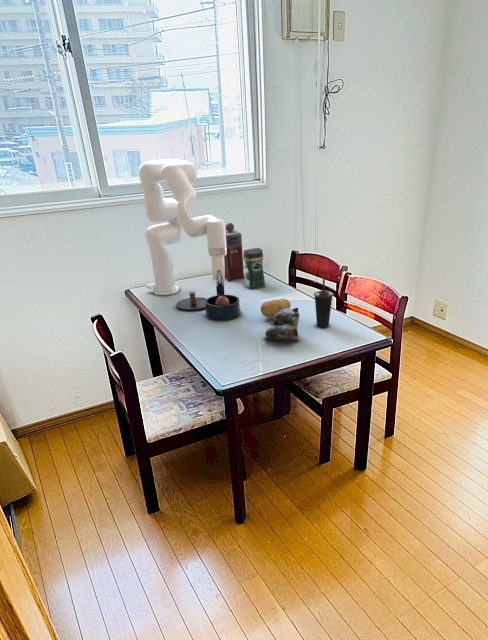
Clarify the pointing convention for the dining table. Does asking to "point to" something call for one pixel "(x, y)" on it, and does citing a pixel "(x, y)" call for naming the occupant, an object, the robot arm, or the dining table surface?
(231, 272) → the vintage gas pump model
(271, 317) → the potato
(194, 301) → the pan lid
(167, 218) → the robot arm
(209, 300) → the pan
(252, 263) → the coffee jar
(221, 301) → the mushroom
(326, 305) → the drinking cup
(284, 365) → the dining table surface
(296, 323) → the lucky cat figurine
